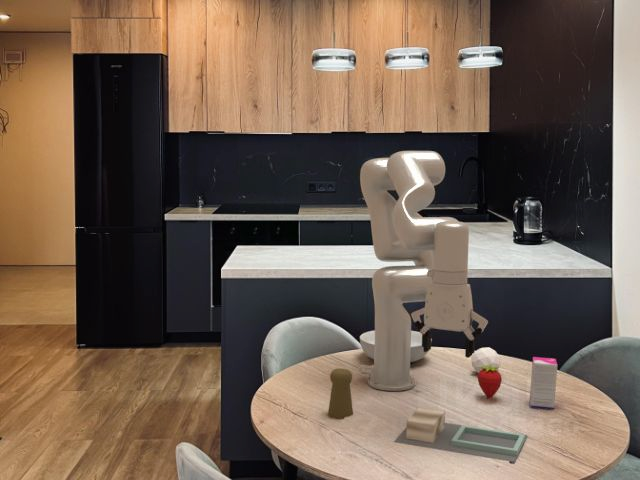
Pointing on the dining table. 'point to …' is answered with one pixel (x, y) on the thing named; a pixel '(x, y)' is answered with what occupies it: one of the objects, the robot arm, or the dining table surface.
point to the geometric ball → (485, 359)
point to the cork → (340, 394)
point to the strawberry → (489, 380)
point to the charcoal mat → (450, 431)
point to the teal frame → (486, 447)
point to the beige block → (425, 424)
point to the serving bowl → (416, 345)
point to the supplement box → (543, 383)
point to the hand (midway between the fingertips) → (447, 353)
